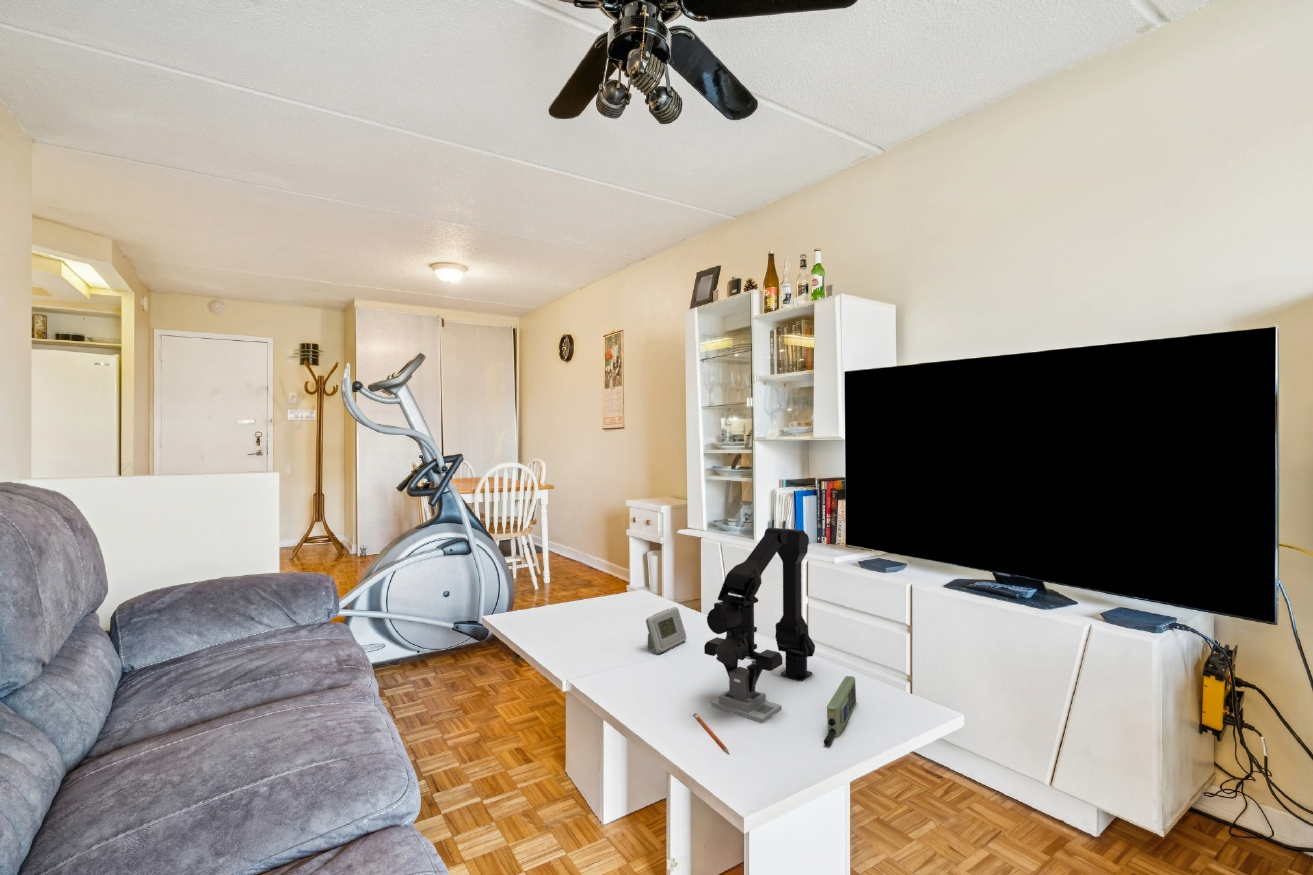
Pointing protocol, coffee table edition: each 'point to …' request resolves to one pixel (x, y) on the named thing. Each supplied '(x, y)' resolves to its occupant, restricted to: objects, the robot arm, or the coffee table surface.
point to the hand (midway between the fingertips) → (742, 688)
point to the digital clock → (665, 630)
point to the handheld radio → (840, 708)
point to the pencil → (711, 733)
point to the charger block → (740, 683)
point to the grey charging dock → (748, 706)
